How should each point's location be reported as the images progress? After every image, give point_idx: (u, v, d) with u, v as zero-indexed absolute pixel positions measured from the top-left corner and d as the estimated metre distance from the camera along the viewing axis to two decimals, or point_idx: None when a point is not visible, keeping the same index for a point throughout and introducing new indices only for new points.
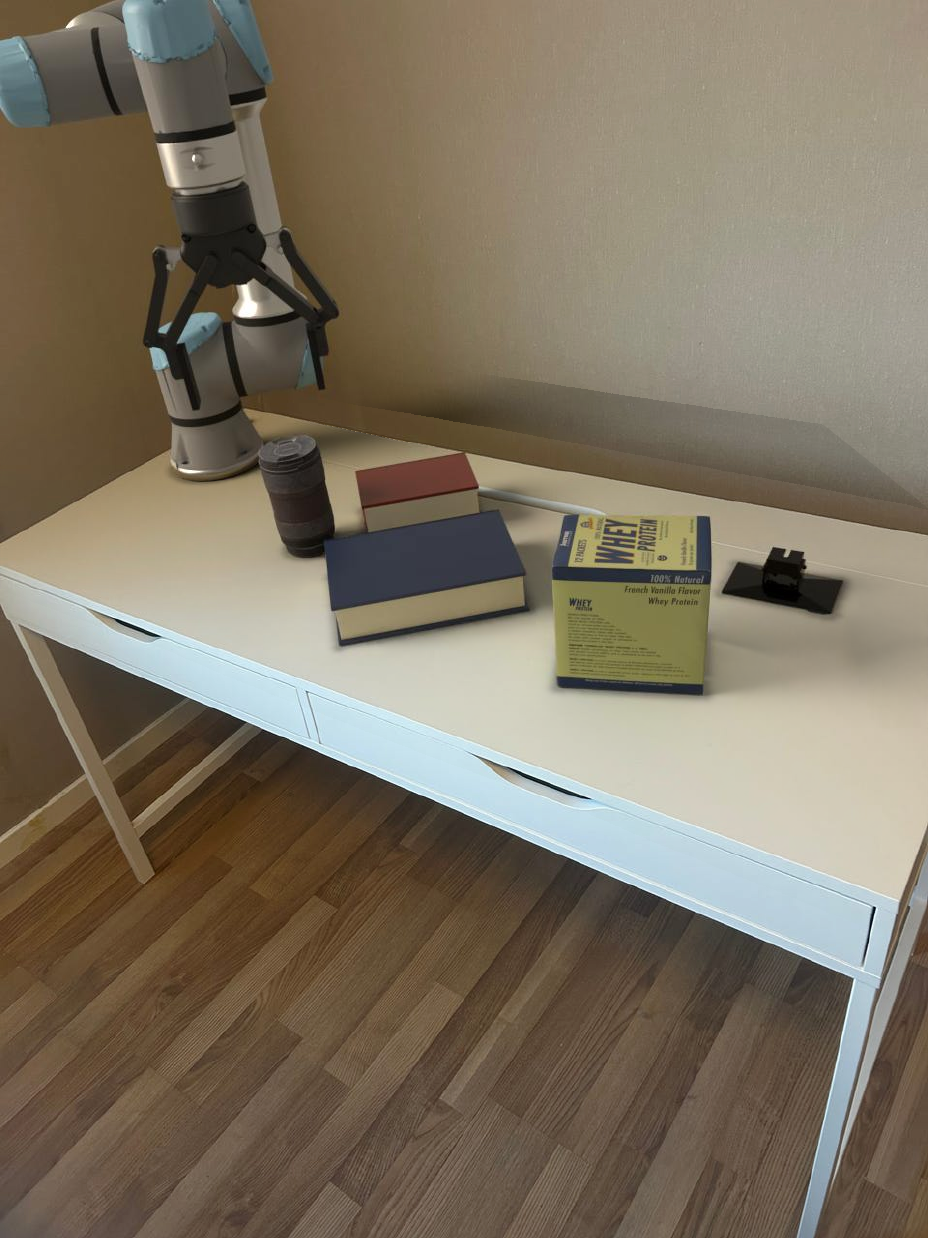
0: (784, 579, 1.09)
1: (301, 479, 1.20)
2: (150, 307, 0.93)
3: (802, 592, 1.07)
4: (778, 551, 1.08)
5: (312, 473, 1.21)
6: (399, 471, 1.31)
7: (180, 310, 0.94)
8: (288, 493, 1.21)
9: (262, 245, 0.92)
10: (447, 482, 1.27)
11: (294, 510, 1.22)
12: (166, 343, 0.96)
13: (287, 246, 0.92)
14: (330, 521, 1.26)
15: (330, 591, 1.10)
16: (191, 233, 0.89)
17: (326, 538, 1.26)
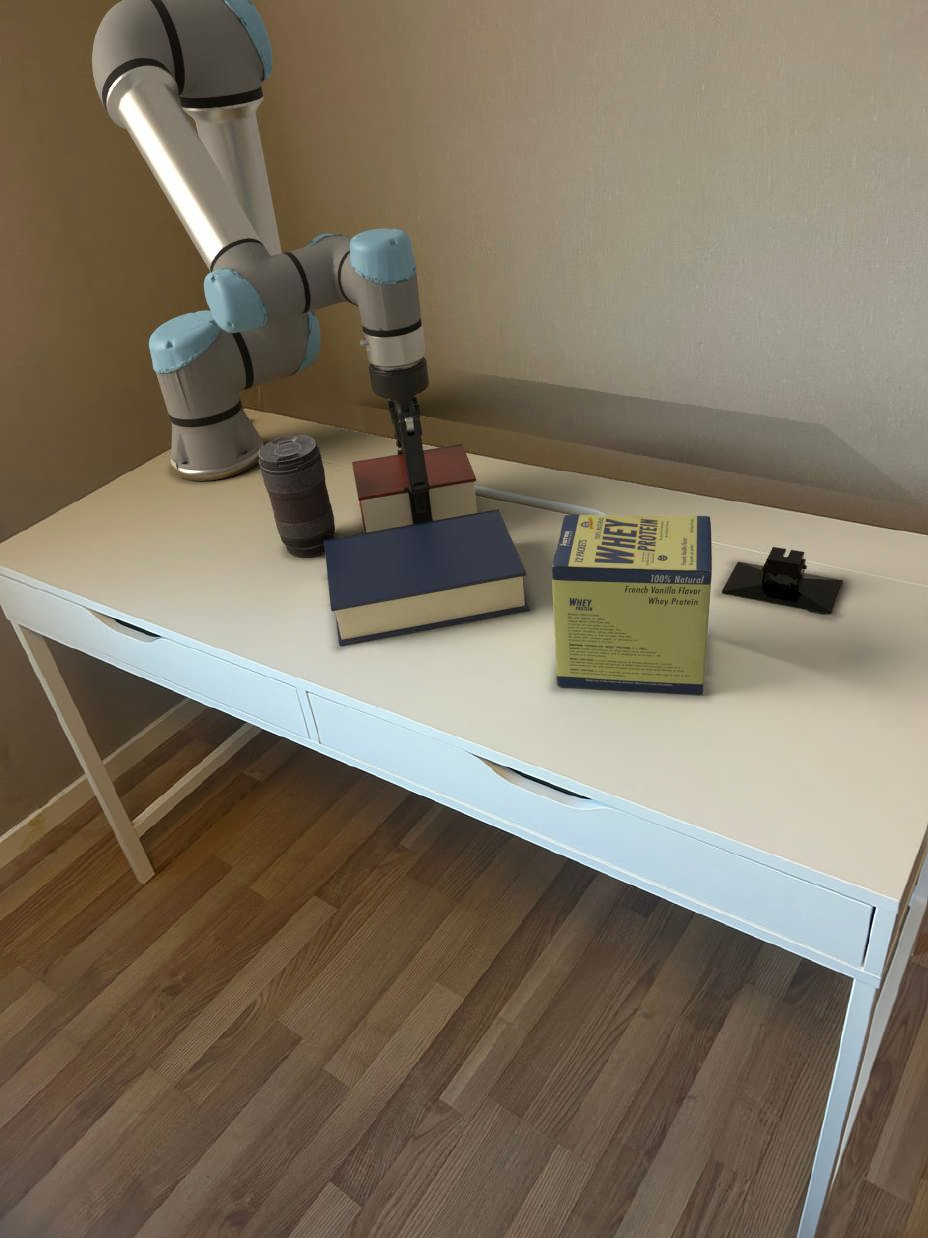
0: (784, 579, 1.09)
1: (301, 479, 1.20)
2: None
3: (802, 592, 1.07)
4: (778, 551, 1.08)
5: (312, 473, 1.21)
6: (396, 462, 1.31)
7: None
8: (288, 493, 1.21)
9: (398, 415, 1.20)
10: (444, 474, 1.27)
11: (294, 510, 1.22)
12: (396, 442, 1.33)
13: (400, 428, 1.18)
14: (330, 521, 1.26)
15: (330, 591, 1.10)
16: None
17: (326, 538, 1.26)
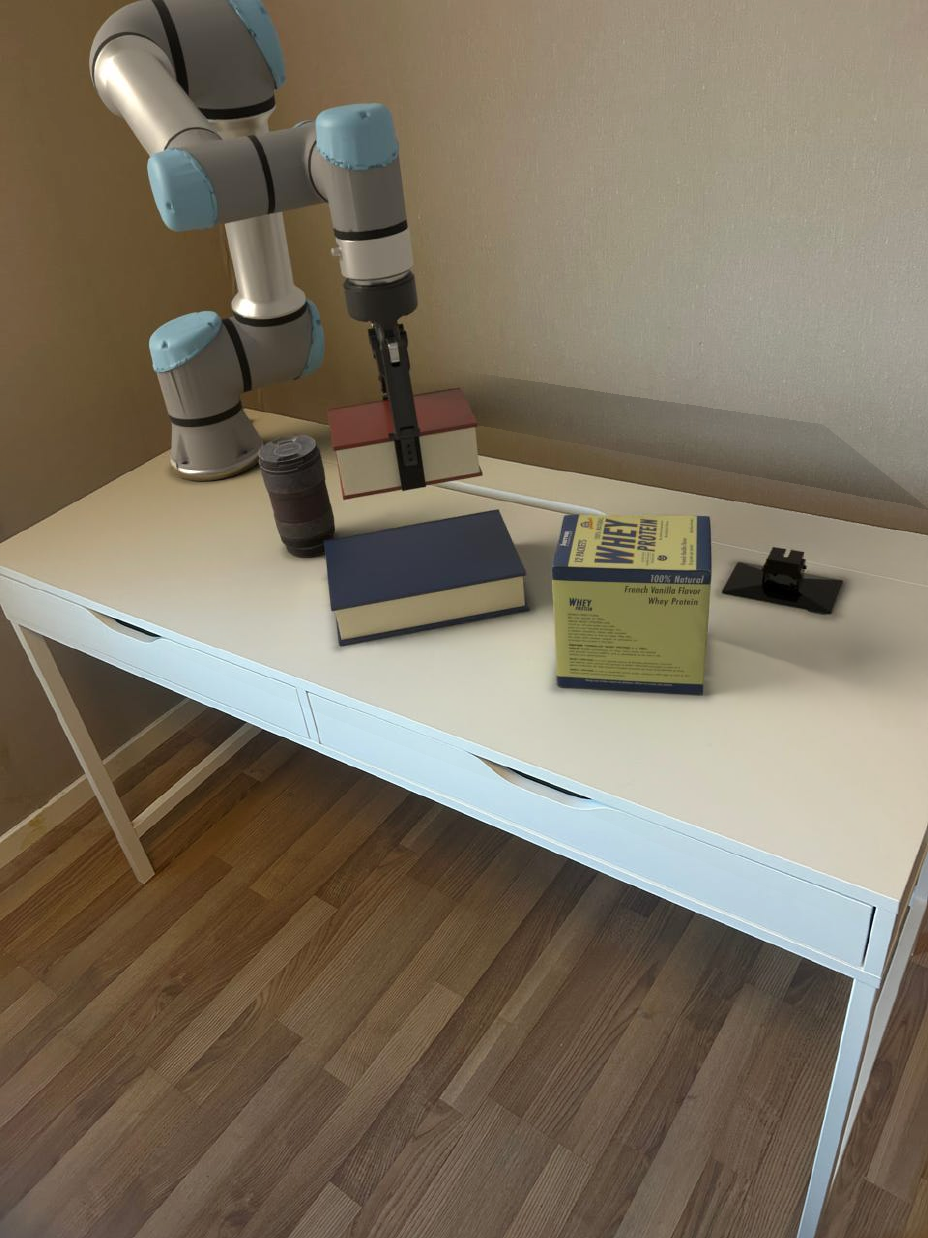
0: (784, 579, 1.09)
1: (301, 479, 1.20)
2: None
3: (802, 592, 1.07)
4: (778, 551, 1.08)
5: (312, 473, 1.21)
6: (380, 408, 1.08)
7: None
8: (288, 493, 1.21)
9: (380, 343, 0.97)
10: (439, 419, 1.04)
11: (294, 510, 1.22)
12: (381, 385, 1.11)
13: (382, 357, 0.95)
14: (330, 521, 1.26)
15: (330, 591, 1.10)
16: None
17: (326, 538, 1.26)
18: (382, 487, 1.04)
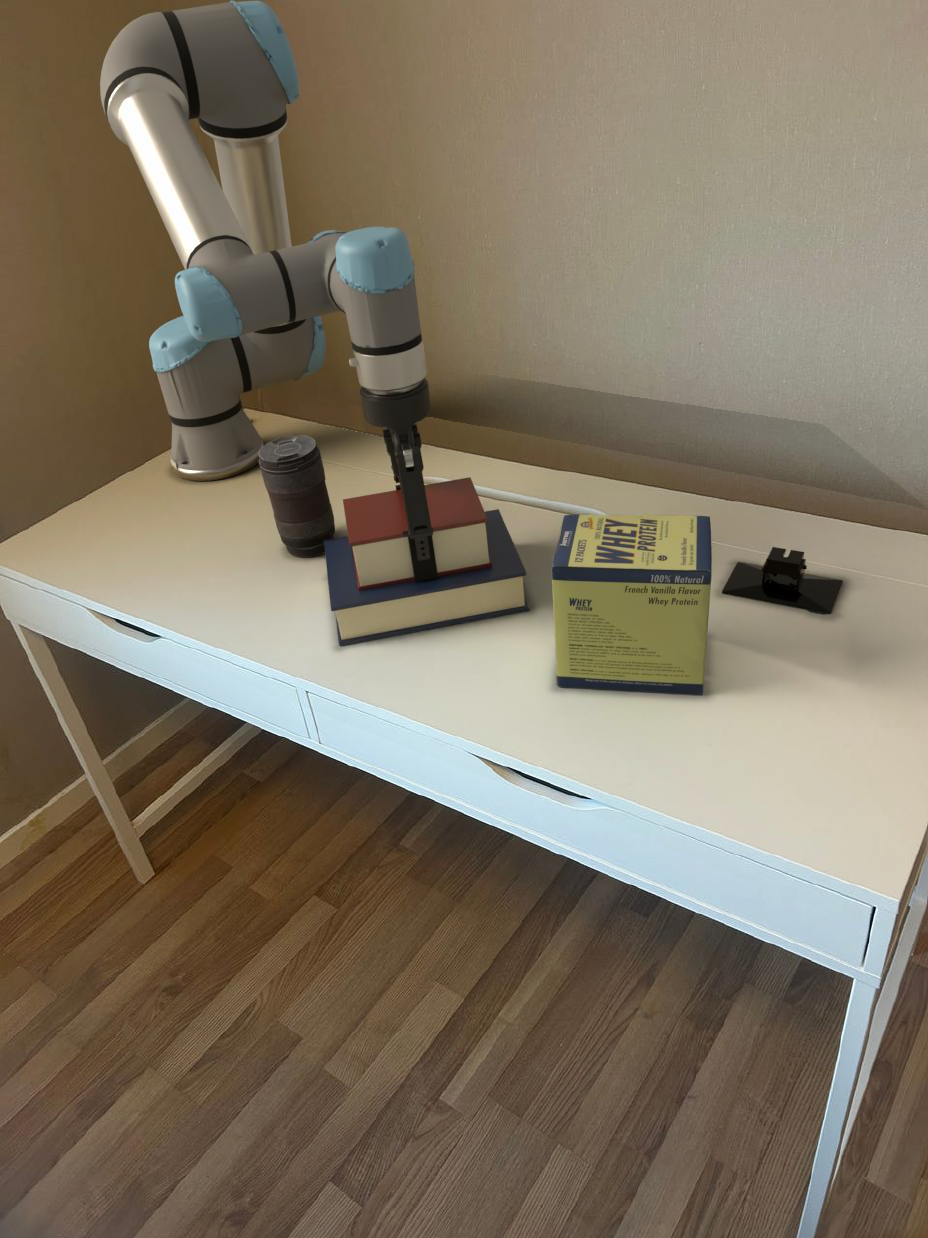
0: (784, 579, 1.09)
1: (301, 479, 1.20)
2: None
3: (802, 592, 1.07)
4: (778, 551, 1.08)
5: (312, 473, 1.21)
6: (393, 499, 1.13)
7: None
8: (288, 493, 1.21)
9: (395, 447, 1.01)
10: (450, 514, 1.08)
11: (294, 510, 1.22)
12: (394, 475, 1.15)
13: None
14: (330, 521, 1.26)
15: (330, 591, 1.10)
16: None
17: (326, 538, 1.26)
18: (396, 578, 1.09)
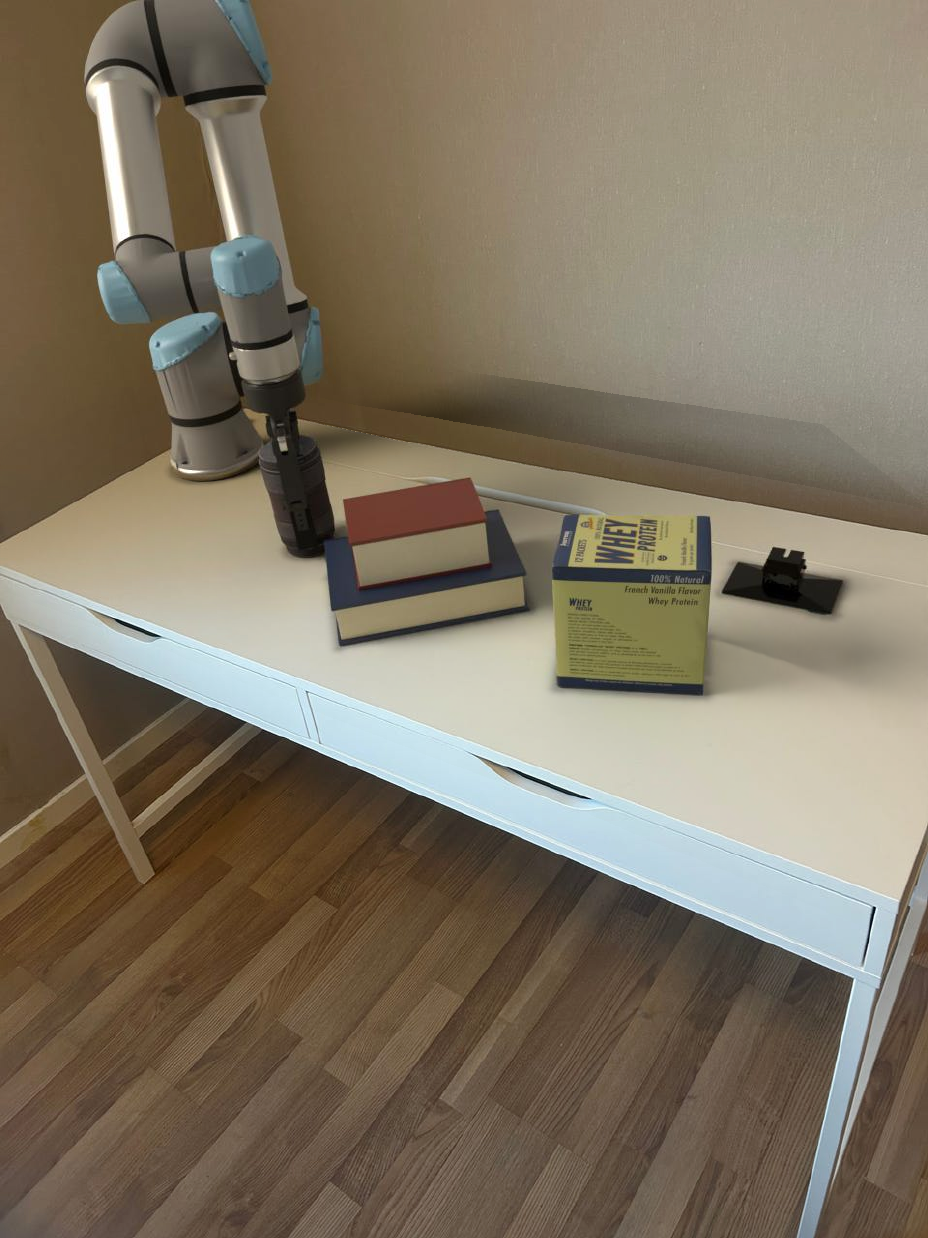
0: (784, 579, 1.09)
1: None
2: None
3: (802, 592, 1.07)
4: (778, 551, 1.08)
5: (312, 473, 1.21)
6: (393, 499, 1.13)
7: None
8: None
9: (272, 430, 1.16)
10: (450, 514, 1.08)
11: None
12: None
13: None
14: (330, 521, 1.26)
15: (330, 591, 1.09)
16: None
17: (326, 538, 1.26)
18: (396, 578, 1.09)
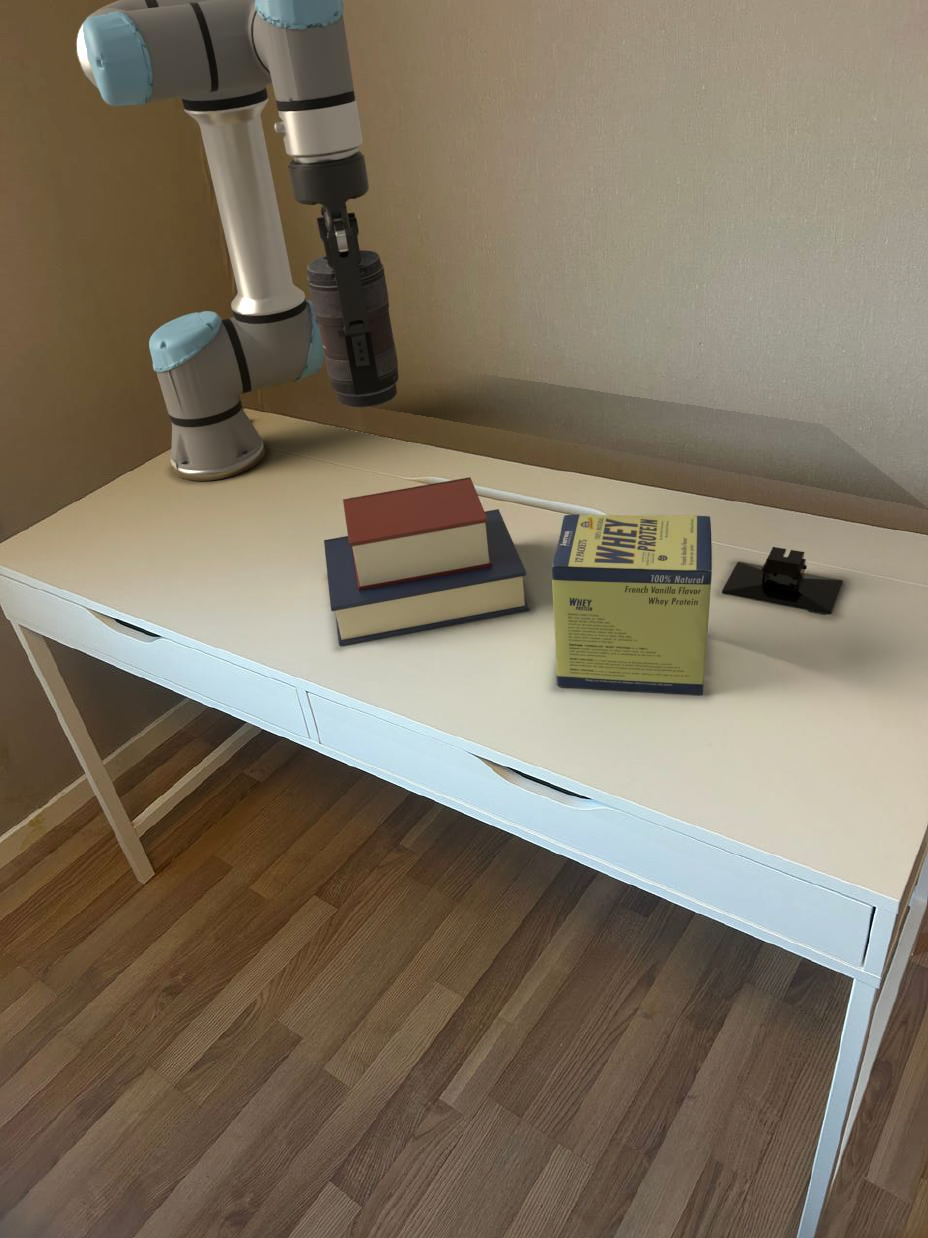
0: (784, 579, 1.09)
1: None
2: None
3: (802, 592, 1.07)
4: (778, 551, 1.08)
5: (375, 291, 0.96)
6: (393, 499, 1.13)
7: None
8: None
9: (328, 227, 0.91)
10: (450, 514, 1.08)
11: None
12: None
13: None
14: (394, 361, 1.02)
15: (330, 591, 1.09)
16: None
17: (388, 383, 1.02)
18: (396, 578, 1.09)
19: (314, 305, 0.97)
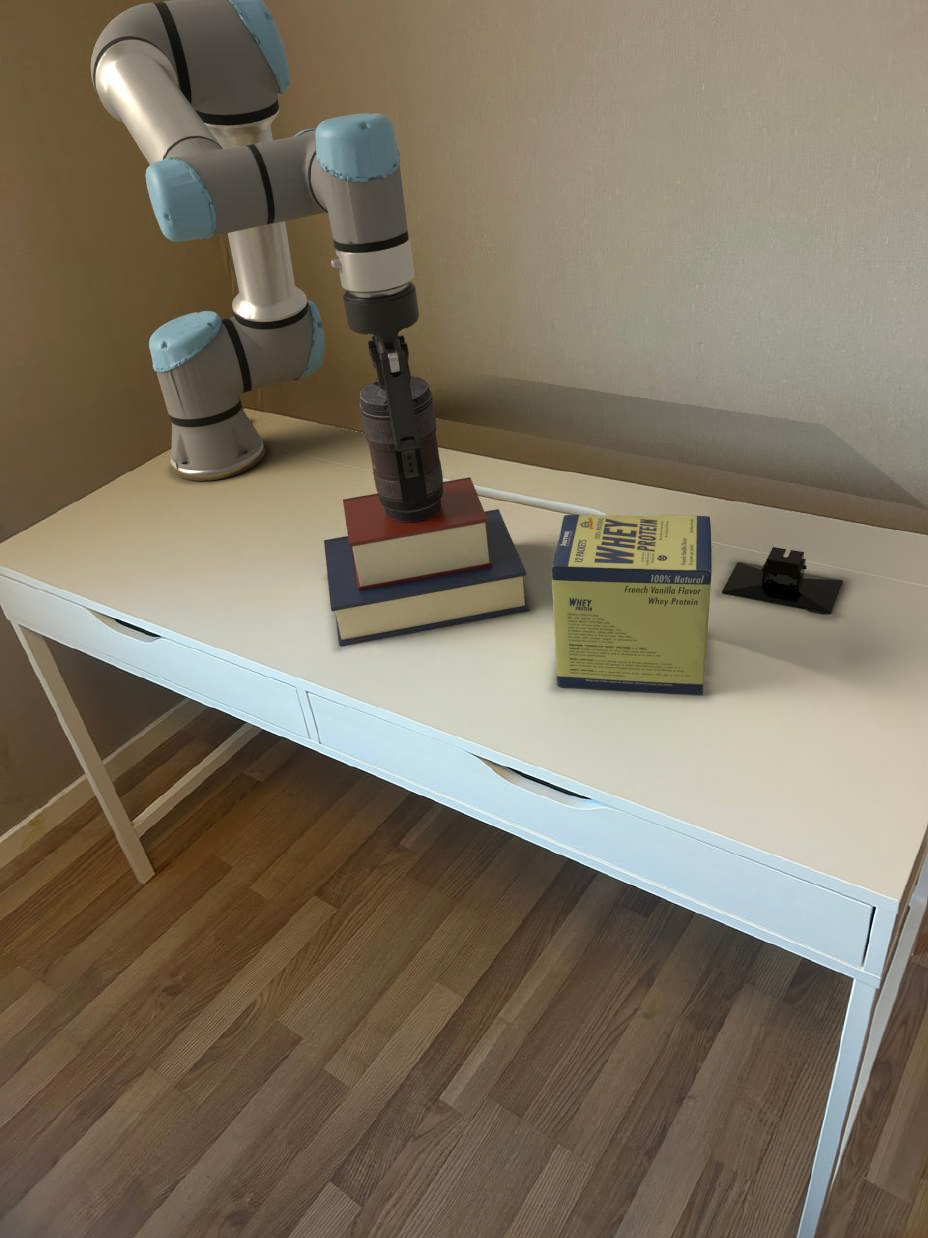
0: (784, 579, 1.09)
1: None
2: None
3: (802, 592, 1.07)
4: (778, 551, 1.08)
5: (424, 419, 1.01)
6: None
7: None
8: None
9: None
10: (450, 514, 1.08)
11: None
12: None
13: (382, 368, 0.94)
14: (440, 479, 1.07)
15: (330, 591, 1.10)
16: None
17: (435, 499, 1.07)
18: (396, 578, 1.09)
19: (366, 430, 1.02)
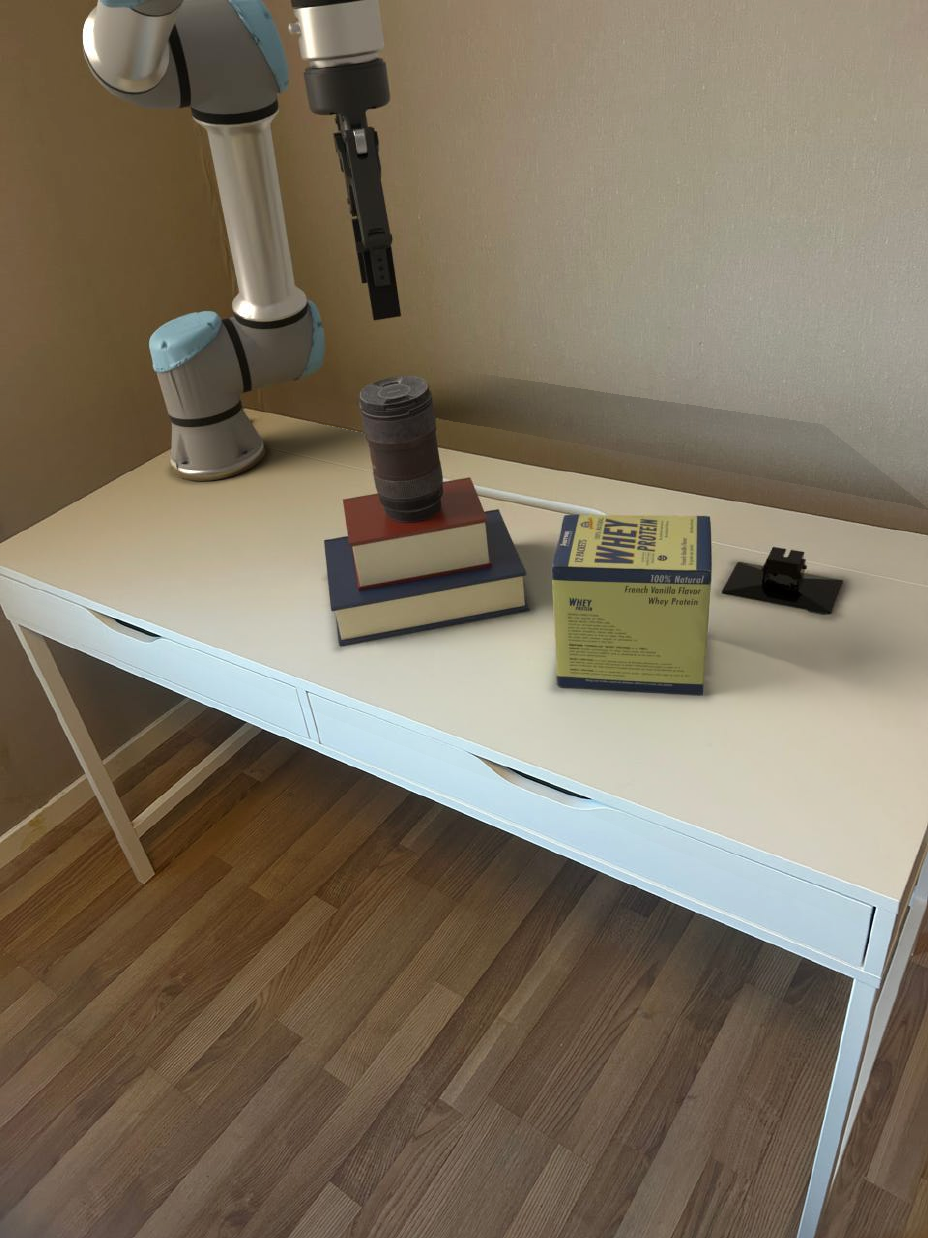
0: (784, 579, 1.09)
1: (411, 427, 1.00)
2: None
3: (802, 592, 1.07)
4: (778, 551, 1.08)
5: (424, 419, 1.01)
6: None
7: None
8: (395, 443, 1.01)
9: None
10: (450, 514, 1.08)
11: (401, 464, 1.03)
12: (350, 207, 0.98)
13: (347, 148, 0.82)
14: (440, 479, 1.07)
15: (330, 591, 1.10)
16: None
17: (435, 499, 1.07)
18: (396, 578, 1.09)
19: (366, 430, 1.02)
